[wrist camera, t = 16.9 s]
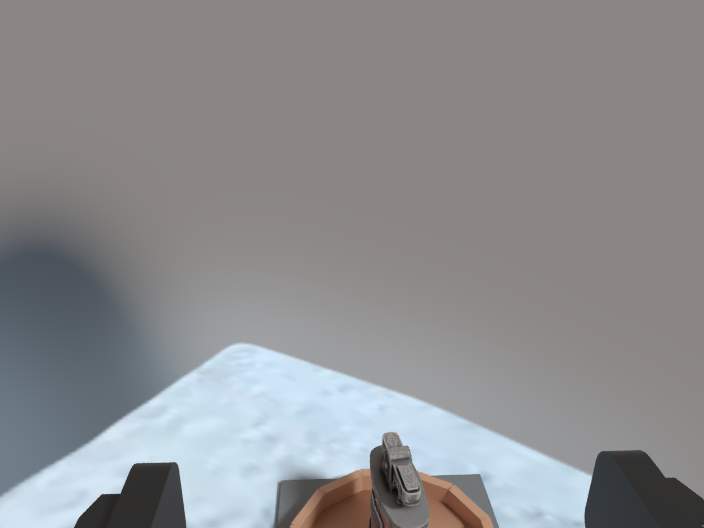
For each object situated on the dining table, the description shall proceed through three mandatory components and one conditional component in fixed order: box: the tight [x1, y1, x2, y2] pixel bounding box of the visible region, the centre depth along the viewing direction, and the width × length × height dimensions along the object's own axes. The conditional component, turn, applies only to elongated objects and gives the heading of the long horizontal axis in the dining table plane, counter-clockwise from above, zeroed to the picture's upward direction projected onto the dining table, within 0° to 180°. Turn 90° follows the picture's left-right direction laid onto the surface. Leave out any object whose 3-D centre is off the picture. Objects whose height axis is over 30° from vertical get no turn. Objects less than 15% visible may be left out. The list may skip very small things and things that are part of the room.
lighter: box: [368, 432, 430, 528], centre depth 42 cm, size 8×3×10 cm, turn 12°
